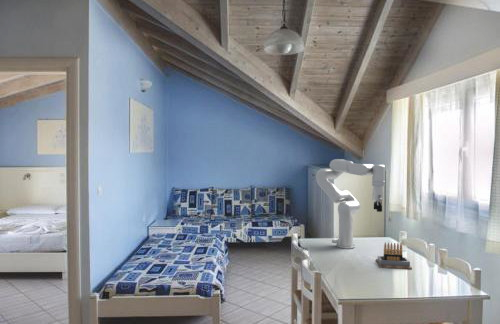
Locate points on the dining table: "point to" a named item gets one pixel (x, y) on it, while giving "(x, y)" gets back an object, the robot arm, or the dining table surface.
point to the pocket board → (393, 263)
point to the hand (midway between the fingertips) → (377, 210)
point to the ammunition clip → (393, 252)
